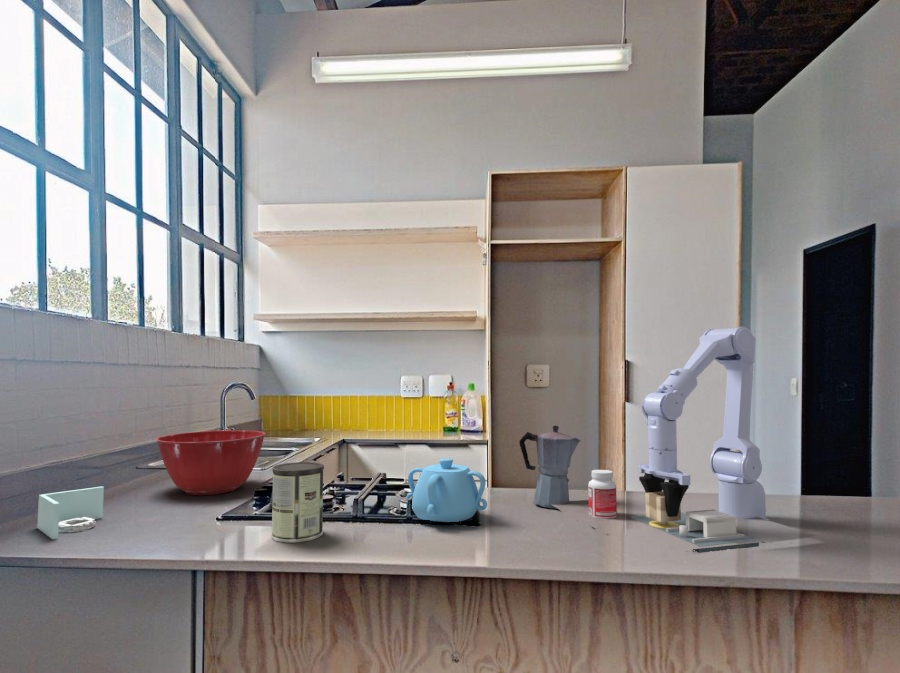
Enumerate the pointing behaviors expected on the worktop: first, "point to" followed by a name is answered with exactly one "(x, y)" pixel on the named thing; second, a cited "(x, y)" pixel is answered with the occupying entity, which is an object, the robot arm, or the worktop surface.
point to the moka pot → (551, 465)
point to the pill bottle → (602, 495)
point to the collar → (658, 507)
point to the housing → (711, 522)
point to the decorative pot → (446, 492)
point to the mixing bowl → (210, 459)
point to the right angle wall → (69, 511)
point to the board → (698, 535)
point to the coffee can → (297, 502)
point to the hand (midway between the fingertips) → (663, 512)
